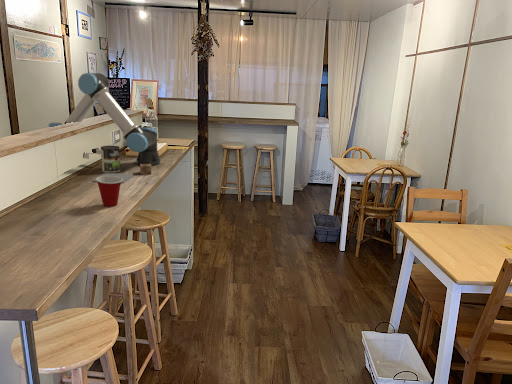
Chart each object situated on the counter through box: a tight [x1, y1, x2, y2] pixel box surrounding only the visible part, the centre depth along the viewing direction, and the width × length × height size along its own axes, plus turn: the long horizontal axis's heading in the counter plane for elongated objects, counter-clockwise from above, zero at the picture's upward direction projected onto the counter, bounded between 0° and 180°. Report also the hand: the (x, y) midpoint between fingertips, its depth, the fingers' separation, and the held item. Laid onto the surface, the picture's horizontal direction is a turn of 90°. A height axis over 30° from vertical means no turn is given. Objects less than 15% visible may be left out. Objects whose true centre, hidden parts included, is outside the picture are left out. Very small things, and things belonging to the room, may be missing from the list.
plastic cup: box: [95, 175, 123, 208], centre depth 169 cm, size 11×11×12 cm
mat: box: [92, 172, 134, 184], centre depth 212 cm, size 16×16×1 cm
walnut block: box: [139, 164, 152, 175], centre depth 227 cm, size 6×6×5 cm
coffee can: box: [100, 145, 121, 174], centre depth 228 cm, size 10×10×14 cm
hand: (97, 154), depth 231 cm, fingers open, 13 cm apart
